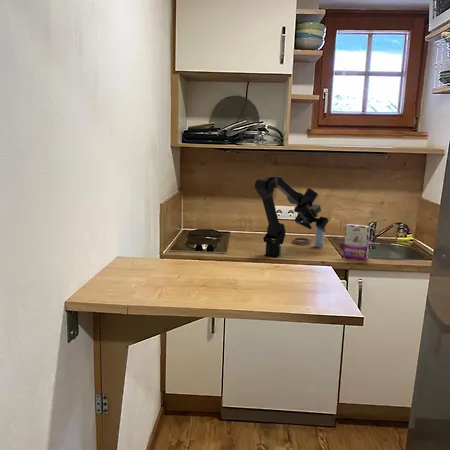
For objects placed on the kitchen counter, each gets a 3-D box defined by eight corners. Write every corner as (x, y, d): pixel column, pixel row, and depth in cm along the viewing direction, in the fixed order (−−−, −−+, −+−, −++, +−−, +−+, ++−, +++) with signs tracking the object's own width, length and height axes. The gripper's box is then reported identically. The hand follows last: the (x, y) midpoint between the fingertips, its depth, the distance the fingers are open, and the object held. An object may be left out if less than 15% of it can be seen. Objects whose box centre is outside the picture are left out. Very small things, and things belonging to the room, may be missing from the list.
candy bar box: (368, 258, 230) (371, 225, 227) (365, 260, 225) (369, 227, 222) (345, 255, 235) (347, 223, 232) (342, 257, 231) (345, 224, 228)
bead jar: (313, 247, 251) (315, 223, 248) (315, 245, 255) (317, 222, 252) (322, 248, 249) (323, 224, 246) (324, 246, 253) (325, 223, 251)
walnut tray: (290, 243, 257) (290, 240, 256) (295, 240, 266) (295, 236, 265) (308, 245, 253) (308, 242, 252) (312, 242, 262) (312, 239, 261)
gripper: (327, 201, 235) (339, 221, 244) (299, 197, 249) (311, 216, 258) (316, 218, 232) (329, 237, 241) (288, 213, 246) (301, 231, 255)
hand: (317, 230), depth 249 cm, fingers open, 9 cm apart
